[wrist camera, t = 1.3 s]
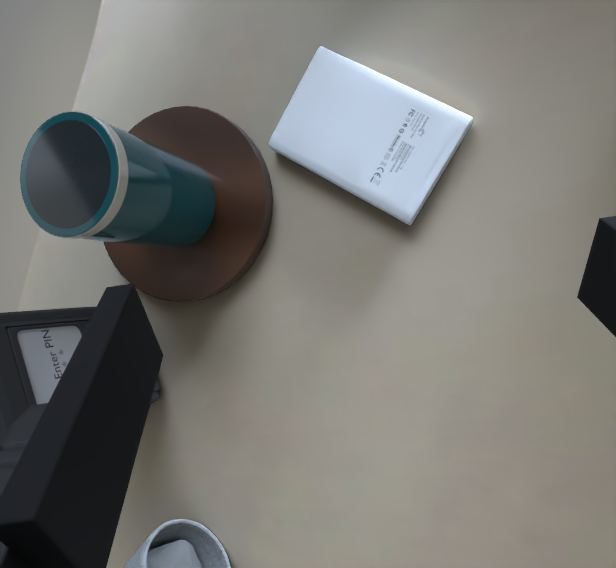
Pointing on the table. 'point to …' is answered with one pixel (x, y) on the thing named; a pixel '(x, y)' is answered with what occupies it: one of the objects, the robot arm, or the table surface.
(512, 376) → the table surface
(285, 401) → the table surface
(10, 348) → the card reader
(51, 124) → the tumbler
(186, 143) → the plate
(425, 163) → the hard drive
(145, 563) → the ceramic mug
